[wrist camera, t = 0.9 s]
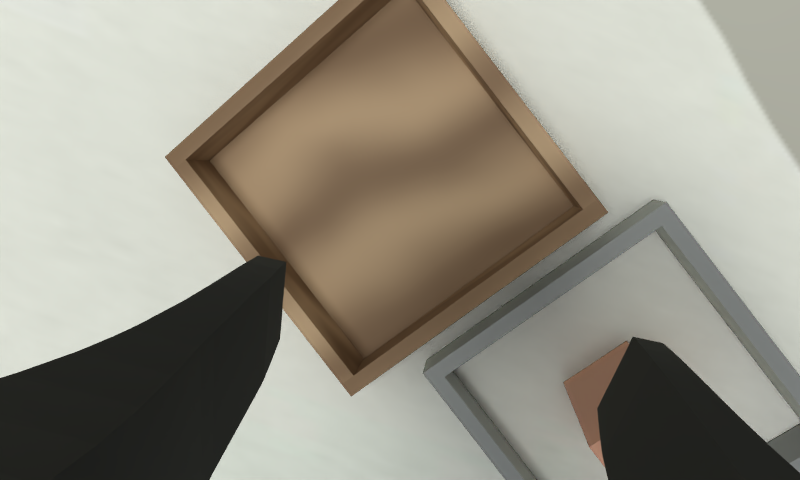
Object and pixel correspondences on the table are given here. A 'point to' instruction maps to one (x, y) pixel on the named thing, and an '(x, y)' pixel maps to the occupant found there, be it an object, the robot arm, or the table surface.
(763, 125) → the table surface
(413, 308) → the walnut bin
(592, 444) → the brick block
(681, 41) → the table surface
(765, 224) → the table surface
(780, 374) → the grey square tray
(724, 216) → the table surface
